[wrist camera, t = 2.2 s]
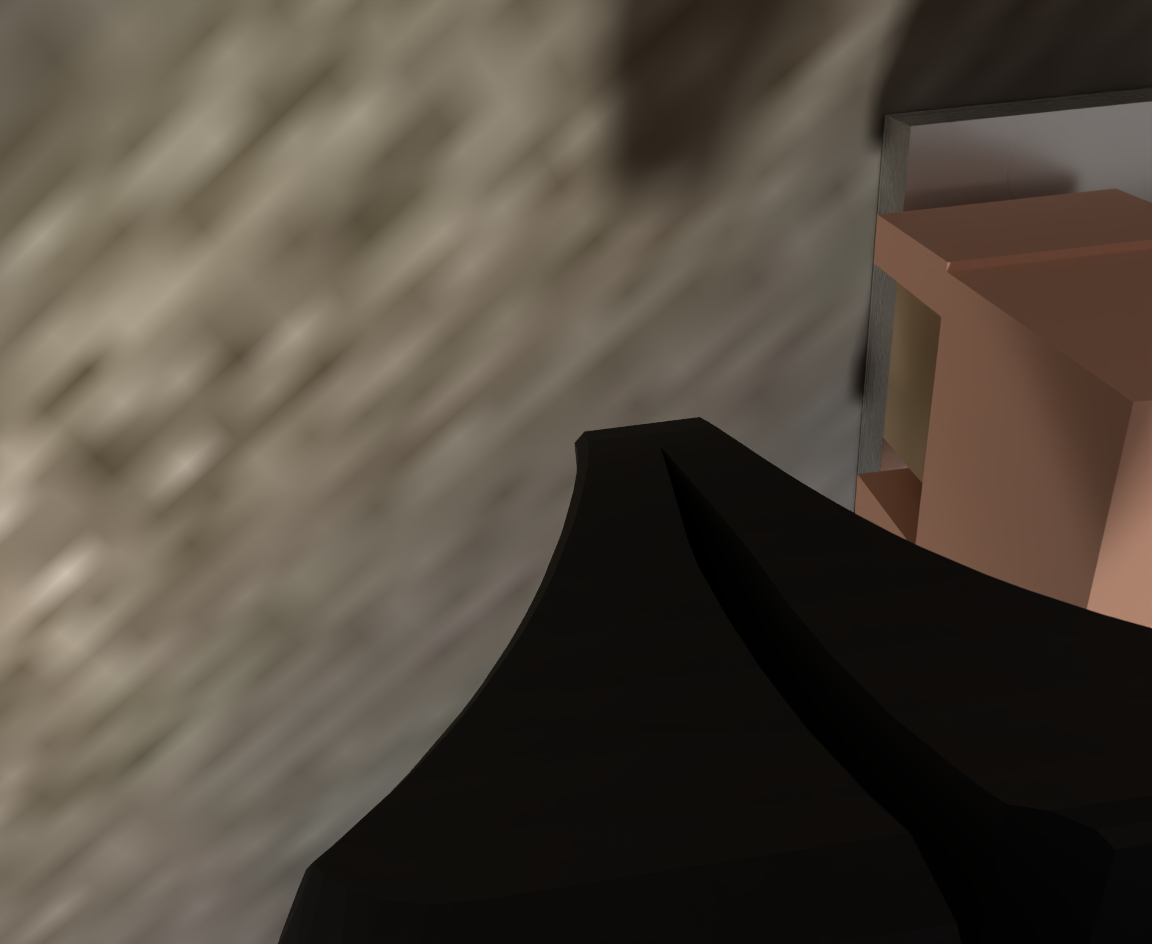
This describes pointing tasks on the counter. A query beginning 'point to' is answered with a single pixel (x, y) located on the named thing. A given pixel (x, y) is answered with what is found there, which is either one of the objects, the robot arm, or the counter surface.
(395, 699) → the counter surface
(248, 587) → the counter surface
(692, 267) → the counter surface
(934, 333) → the bar
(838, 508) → the robot arm
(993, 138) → the flange plate
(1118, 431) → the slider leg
